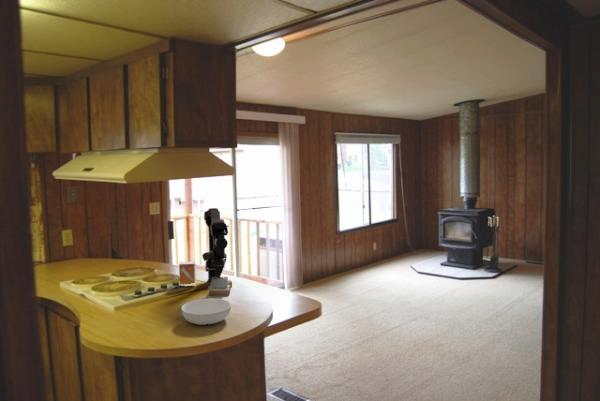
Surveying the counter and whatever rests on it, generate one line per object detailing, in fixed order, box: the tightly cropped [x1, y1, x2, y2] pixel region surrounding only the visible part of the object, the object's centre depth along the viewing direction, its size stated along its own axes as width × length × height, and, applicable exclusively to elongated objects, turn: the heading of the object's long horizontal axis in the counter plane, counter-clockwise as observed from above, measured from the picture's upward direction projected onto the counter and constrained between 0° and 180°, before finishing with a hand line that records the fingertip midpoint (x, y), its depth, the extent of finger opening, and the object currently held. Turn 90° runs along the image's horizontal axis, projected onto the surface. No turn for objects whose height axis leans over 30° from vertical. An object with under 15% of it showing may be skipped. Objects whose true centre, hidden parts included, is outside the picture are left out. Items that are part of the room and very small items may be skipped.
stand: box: [208, 285, 232, 297], centre depth 241 cm, size 10×10×3 cm
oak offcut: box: [228, 279, 233, 288], centre depth 253 cm, size 4×4×3 cm
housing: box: [210, 276, 229, 289], centre depth 240 cm, size 5×8×5 cm, turn 94°
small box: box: [178, 261, 197, 285], centre depth 255 cm, size 8×6×13 cm
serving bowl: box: [180, 297, 232, 326], centre depth 199 cm, size 21×21×7 cm
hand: (219, 275), depth 240 cm, fingers open, 9 cm apart
